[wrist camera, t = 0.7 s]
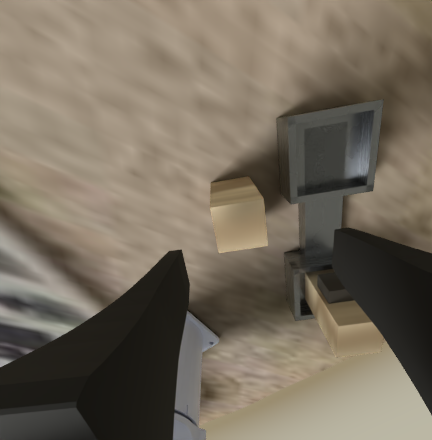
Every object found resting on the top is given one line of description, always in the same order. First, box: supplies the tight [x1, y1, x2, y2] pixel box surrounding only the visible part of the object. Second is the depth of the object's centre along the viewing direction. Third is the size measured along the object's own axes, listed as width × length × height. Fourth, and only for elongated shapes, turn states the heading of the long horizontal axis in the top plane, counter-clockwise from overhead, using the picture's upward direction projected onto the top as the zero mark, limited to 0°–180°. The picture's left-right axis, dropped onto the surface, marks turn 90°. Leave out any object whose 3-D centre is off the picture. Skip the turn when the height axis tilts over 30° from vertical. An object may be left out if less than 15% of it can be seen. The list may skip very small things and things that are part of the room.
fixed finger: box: [305, 269, 384, 358], centre depth 18 cm, size 4×3×6 cm
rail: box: [276, 99, 384, 321], centre depth 19 cm, size 18×6×3 cm, turn 10°
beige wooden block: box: [210, 176, 268, 253], centre depth 17 cm, size 4×3×6 cm
